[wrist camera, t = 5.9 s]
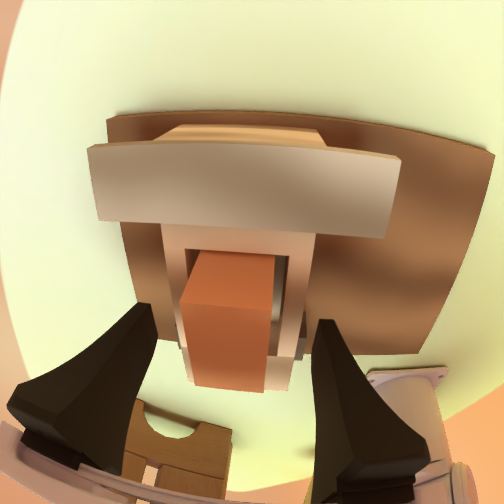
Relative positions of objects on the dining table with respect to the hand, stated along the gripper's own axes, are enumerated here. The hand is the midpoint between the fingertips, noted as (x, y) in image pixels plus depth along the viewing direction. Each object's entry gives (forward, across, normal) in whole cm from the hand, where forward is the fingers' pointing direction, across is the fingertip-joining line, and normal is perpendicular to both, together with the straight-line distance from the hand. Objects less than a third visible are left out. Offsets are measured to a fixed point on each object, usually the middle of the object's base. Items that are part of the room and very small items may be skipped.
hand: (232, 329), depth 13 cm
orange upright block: (+4, 0, 0) cm, 4 cm away
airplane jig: (+6, -3, 0) cm, 6 cm away
